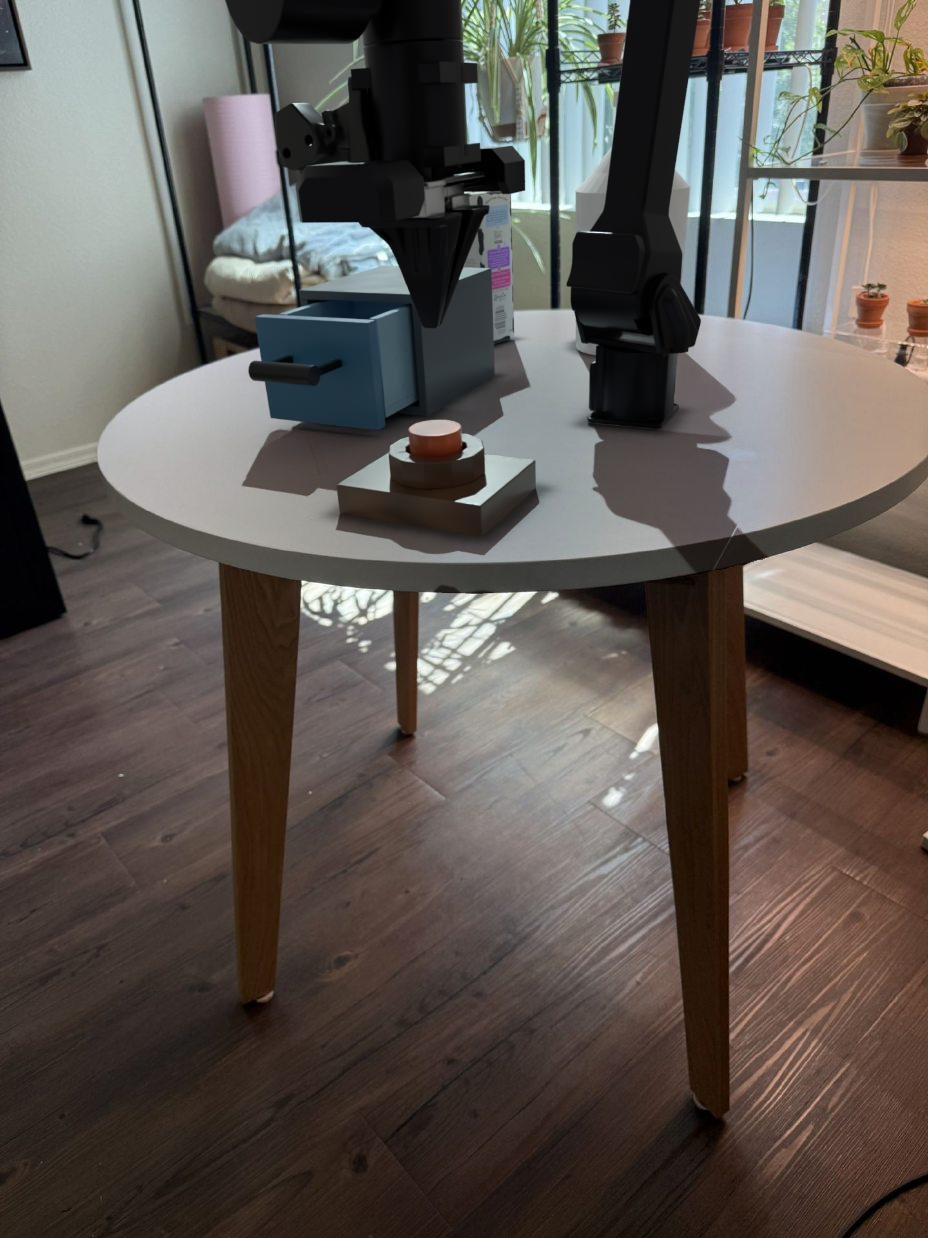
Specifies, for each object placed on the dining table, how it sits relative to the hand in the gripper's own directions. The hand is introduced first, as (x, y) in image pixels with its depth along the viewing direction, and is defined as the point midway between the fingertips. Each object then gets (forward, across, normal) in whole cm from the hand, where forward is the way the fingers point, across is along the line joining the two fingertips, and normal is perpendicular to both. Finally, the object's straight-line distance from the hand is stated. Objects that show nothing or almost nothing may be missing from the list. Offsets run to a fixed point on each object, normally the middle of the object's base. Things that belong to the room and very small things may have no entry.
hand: (432, 327), depth 58 cm
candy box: (+12, -46, -22) cm, 53 cm away
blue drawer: (+11, -13, -16) cm, 23 cm away
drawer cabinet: (+12, -23, -16) cm, 31 cm away
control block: (+12, +2, +1) cm, 12 cm away
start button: (+8, +2, +1) cm, 8 cm away
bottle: (+12, -47, -1) cm, 49 cm away
